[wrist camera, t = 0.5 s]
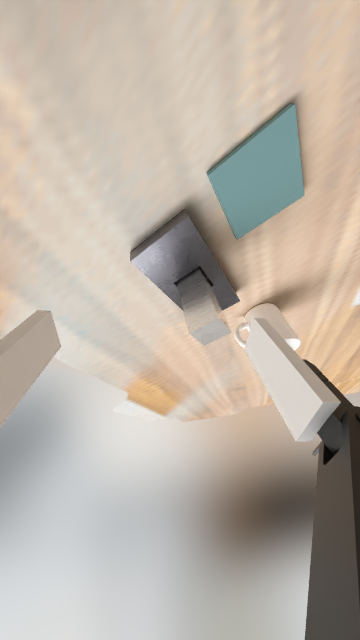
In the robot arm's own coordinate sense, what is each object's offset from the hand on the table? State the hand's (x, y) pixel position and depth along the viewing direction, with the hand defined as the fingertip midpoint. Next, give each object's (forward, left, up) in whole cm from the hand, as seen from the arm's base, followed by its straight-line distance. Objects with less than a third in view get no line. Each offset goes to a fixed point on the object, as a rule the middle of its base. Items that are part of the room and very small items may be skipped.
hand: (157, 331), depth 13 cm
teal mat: (-2, +15, -20) cm, 25 cm away
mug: (+26, +21, -20) cm, 39 cm away
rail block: (+11, +6, -20) cm, 24 cm away
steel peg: (+11, +6, -20) cm, 24 cm away
